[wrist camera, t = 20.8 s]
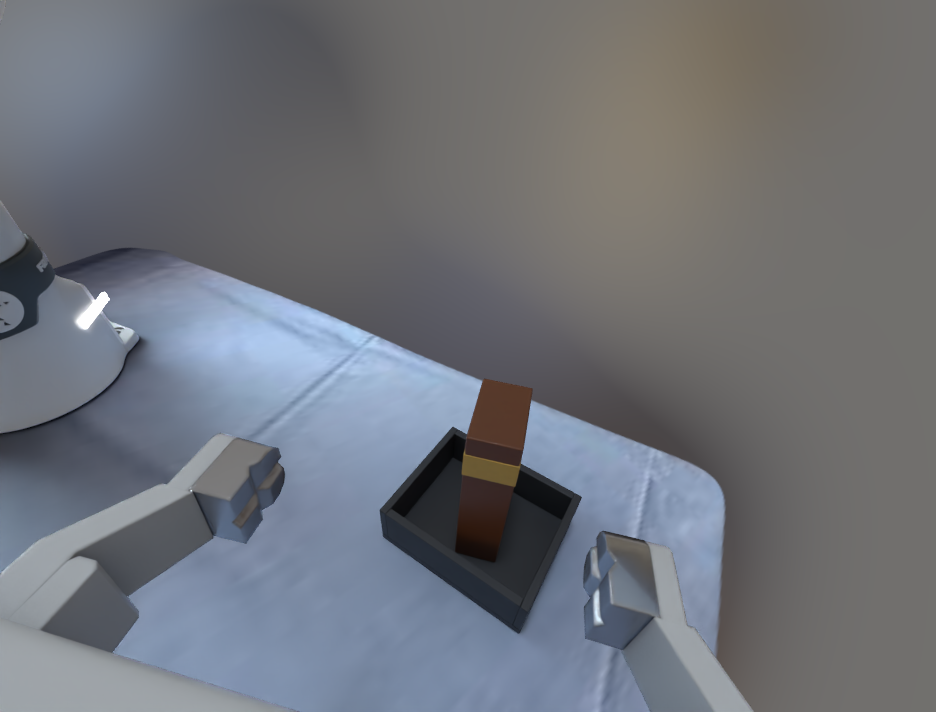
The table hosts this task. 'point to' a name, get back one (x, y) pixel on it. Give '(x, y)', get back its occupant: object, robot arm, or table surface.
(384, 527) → the tray
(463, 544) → the chocolate box
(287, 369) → the table surface
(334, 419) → the table surface
